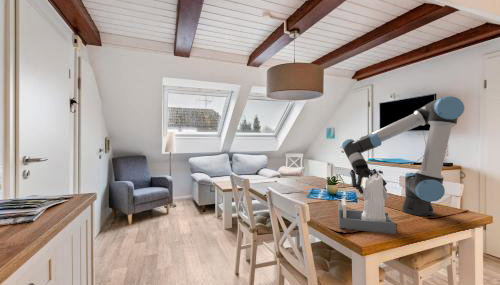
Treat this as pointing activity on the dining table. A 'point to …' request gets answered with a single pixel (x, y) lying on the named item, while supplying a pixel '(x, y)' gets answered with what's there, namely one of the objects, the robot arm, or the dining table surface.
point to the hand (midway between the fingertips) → (376, 198)
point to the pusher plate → (343, 208)
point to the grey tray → (364, 222)
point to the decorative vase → (374, 199)
